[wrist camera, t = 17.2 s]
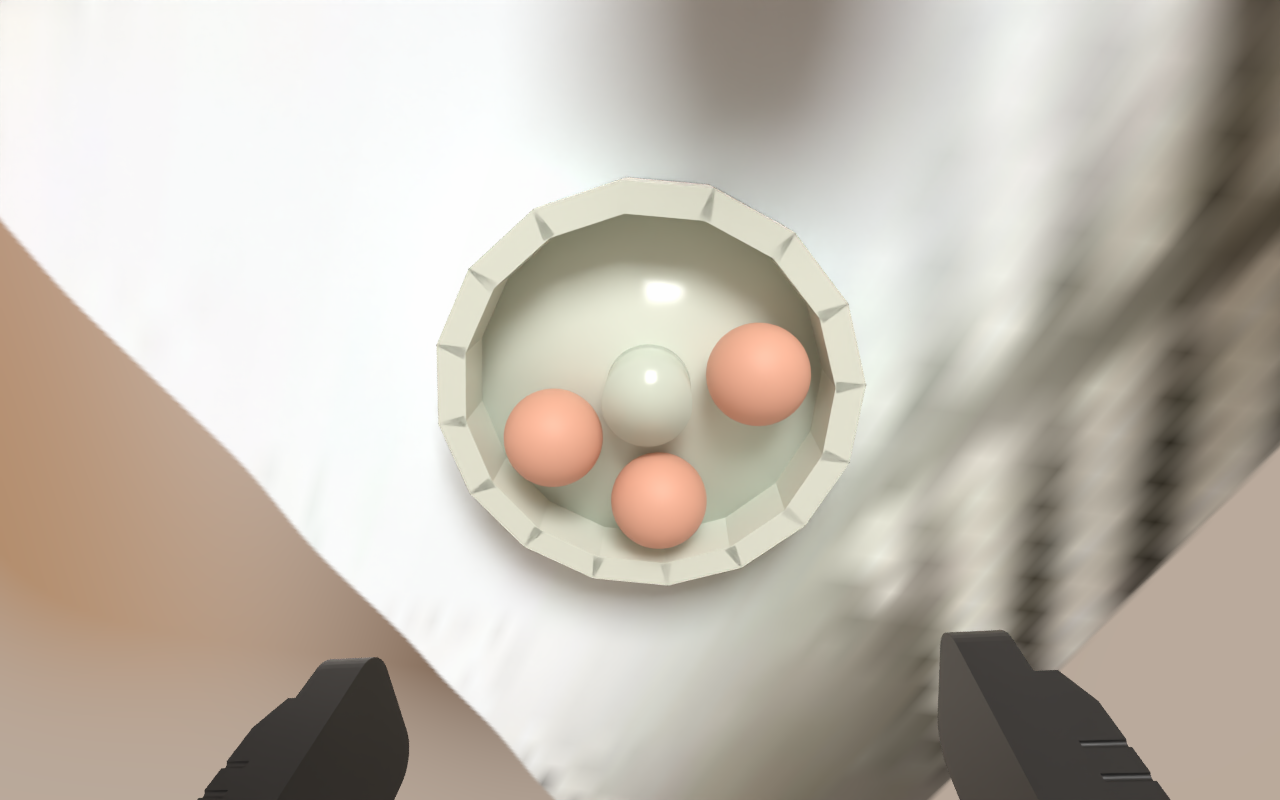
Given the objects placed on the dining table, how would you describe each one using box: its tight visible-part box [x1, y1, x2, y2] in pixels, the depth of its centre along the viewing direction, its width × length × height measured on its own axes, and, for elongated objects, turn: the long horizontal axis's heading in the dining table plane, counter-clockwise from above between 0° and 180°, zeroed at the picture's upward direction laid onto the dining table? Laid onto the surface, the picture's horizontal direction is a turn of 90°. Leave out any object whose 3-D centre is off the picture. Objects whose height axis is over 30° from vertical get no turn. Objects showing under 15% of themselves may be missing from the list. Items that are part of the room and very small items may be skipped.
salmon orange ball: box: [706, 323, 811, 426], centre depth 23 cm, size 4×4×4 cm
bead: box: [504, 389, 603, 487], centre depth 24 cm, size 4×4×4 cm
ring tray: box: [436, 177, 866, 586], centre depth 25 cm, size 15×15×3 cm
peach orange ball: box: [611, 452, 707, 549], centre depth 25 cm, size 4×4×4 cm
